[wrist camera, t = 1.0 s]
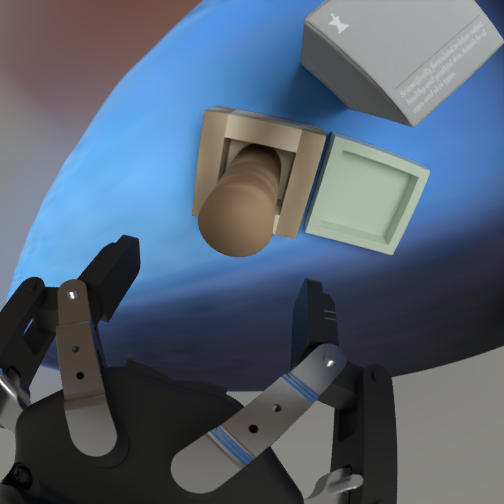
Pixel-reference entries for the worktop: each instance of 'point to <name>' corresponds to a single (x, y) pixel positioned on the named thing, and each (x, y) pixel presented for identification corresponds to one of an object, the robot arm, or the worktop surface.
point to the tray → (364, 194)
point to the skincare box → (396, 52)
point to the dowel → (243, 203)
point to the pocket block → (265, 133)
